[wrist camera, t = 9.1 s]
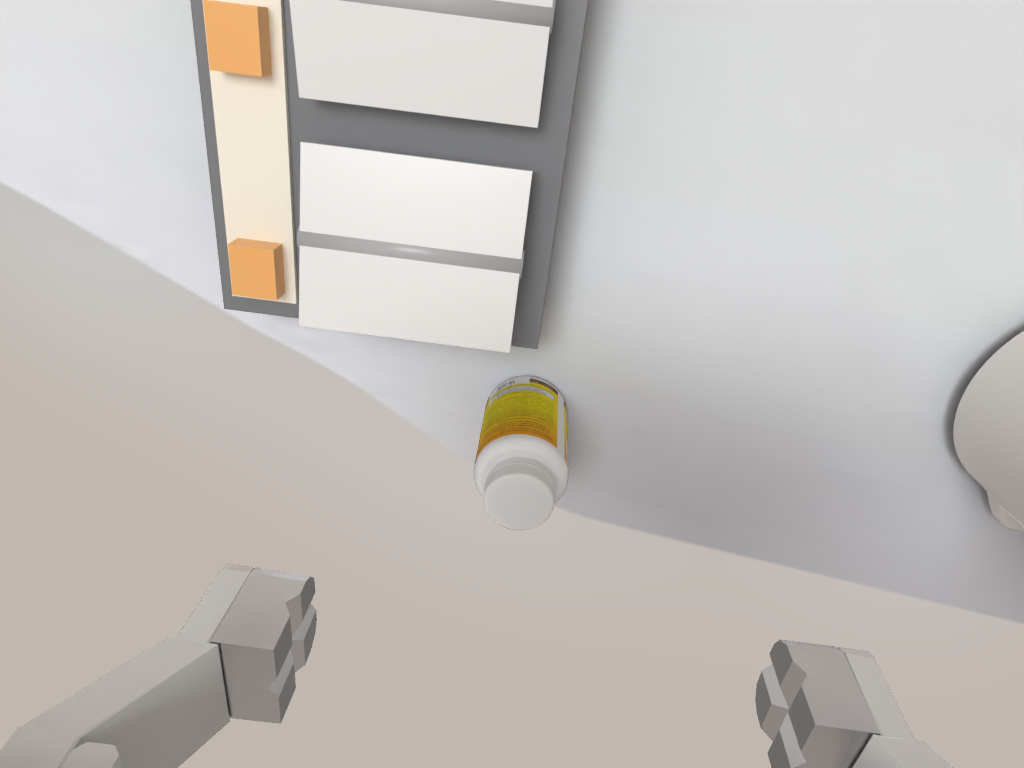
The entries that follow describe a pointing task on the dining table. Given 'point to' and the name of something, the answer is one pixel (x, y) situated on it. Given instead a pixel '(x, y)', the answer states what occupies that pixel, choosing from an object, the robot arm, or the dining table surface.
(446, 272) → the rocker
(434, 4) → the rocker
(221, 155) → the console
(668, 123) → the dining table surface
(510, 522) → the supplement bottle
